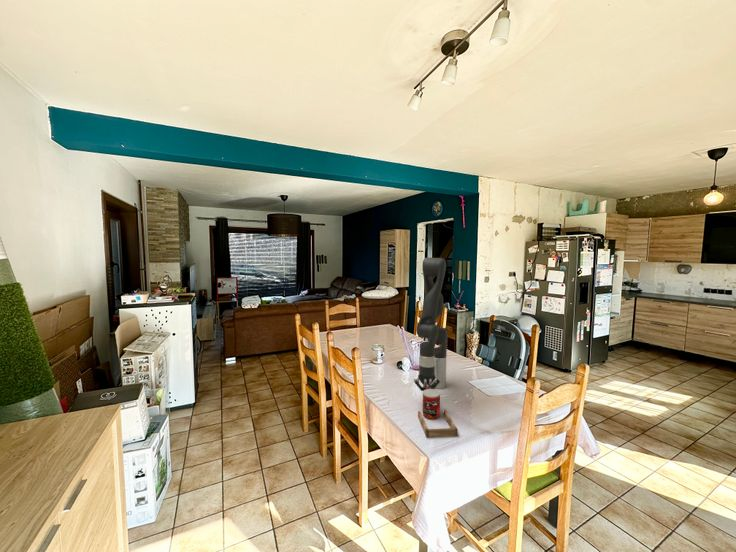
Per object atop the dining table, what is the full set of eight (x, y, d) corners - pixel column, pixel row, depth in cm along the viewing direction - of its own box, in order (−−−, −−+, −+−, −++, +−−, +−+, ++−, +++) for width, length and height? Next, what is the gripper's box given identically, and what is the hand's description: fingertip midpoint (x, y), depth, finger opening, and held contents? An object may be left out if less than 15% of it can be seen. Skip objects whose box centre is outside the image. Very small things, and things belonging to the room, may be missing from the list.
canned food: (419, 416, 141) (420, 393, 140) (426, 409, 148) (427, 387, 147) (435, 421, 137) (436, 398, 136) (442, 413, 143) (442, 391, 142)
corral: (418, 417, 140) (418, 411, 140) (445, 416, 141) (445, 410, 141) (426, 437, 125) (426, 430, 125) (457, 436, 126) (457, 429, 126)
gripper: (437, 360, 153) (437, 394, 155) (411, 361, 152) (411, 395, 154) (442, 366, 146) (442, 401, 147) (415, 367, 145) (414, 402, 146)
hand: (426, 398), depth 150 cm, fingers closed
